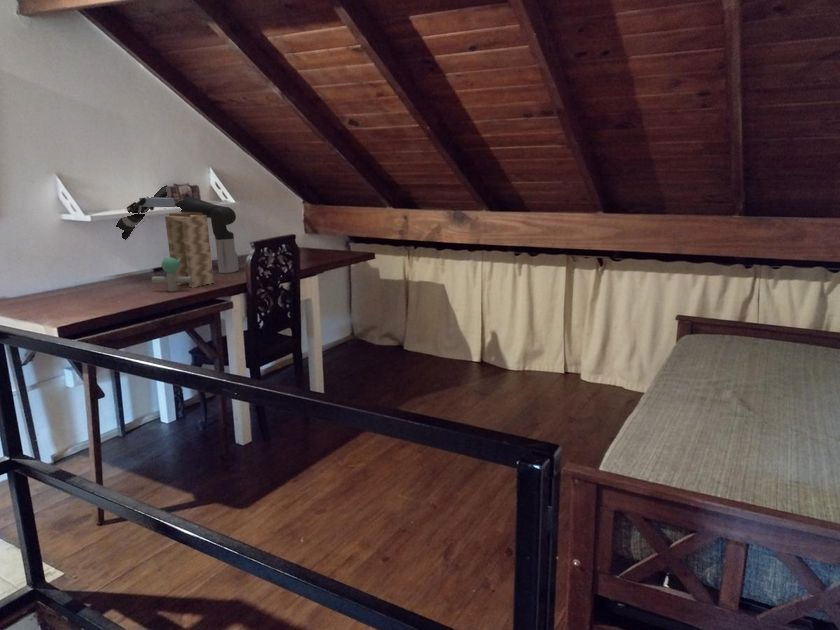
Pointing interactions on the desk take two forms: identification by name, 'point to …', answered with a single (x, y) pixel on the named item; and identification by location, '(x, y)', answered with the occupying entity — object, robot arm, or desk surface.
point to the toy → (171, 274)
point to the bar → (158, 202)
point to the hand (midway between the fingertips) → (148, 199)
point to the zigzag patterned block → (190, 246)
